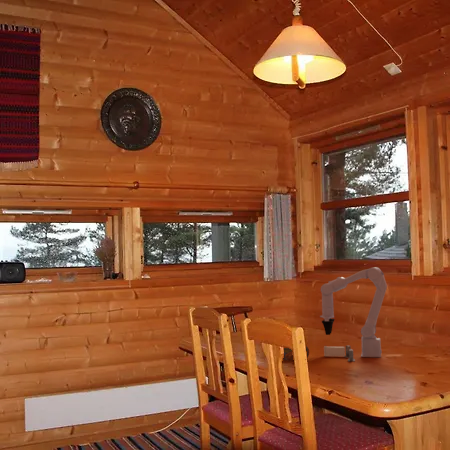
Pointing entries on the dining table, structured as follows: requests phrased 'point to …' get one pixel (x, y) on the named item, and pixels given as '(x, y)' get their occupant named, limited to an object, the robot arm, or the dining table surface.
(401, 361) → the dining table surface
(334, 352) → the lipped cream column
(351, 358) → the latch block
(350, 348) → the pivot post
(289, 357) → the tin
